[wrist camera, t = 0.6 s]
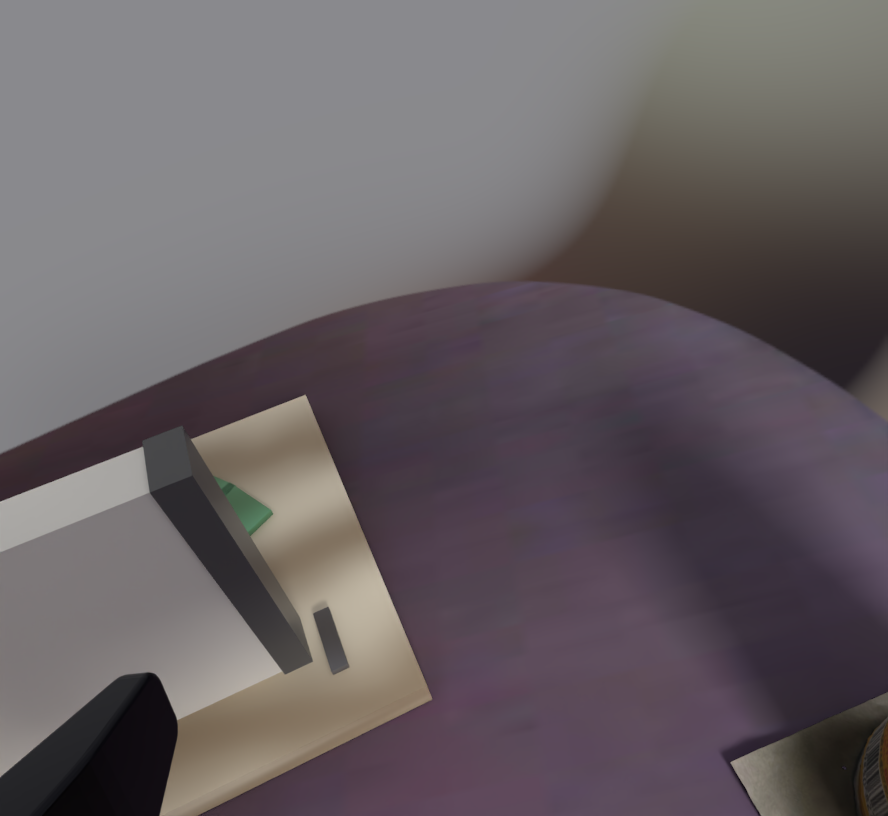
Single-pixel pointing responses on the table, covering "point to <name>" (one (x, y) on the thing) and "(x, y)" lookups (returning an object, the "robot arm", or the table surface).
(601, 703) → the table surface
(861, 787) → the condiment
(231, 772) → the board
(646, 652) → the table surface
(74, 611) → the white panel grey edge
